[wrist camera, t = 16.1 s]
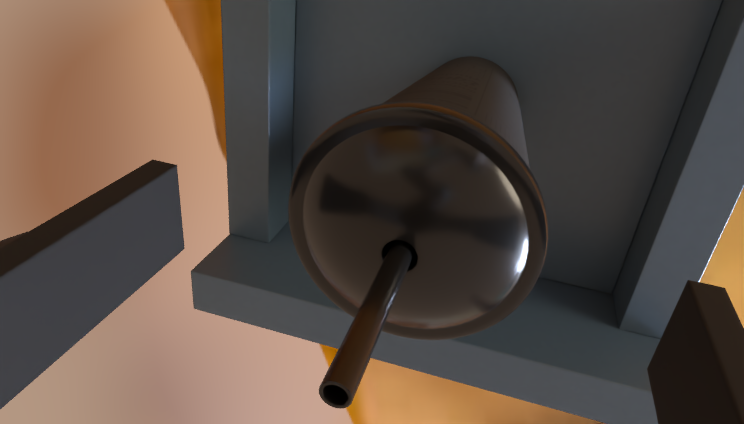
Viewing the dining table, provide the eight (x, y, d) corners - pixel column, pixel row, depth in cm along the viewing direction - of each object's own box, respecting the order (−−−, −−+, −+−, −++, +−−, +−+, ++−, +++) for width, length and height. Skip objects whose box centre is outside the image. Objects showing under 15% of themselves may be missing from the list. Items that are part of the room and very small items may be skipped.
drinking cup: (401, 175, 30) (207, 494, 13) (388, 31, 27) (108, 207, 10) (546, 177, 28) (540, 565, 11) (552, 20, 25) (556, 224, 8)
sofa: (298, -86, 31) (160, -95, 20) (757, -35, 27) (906, -11, 15) (291, 205, 40) (193, 309, 29) (631, 282, 36) (668, 441, 25)
